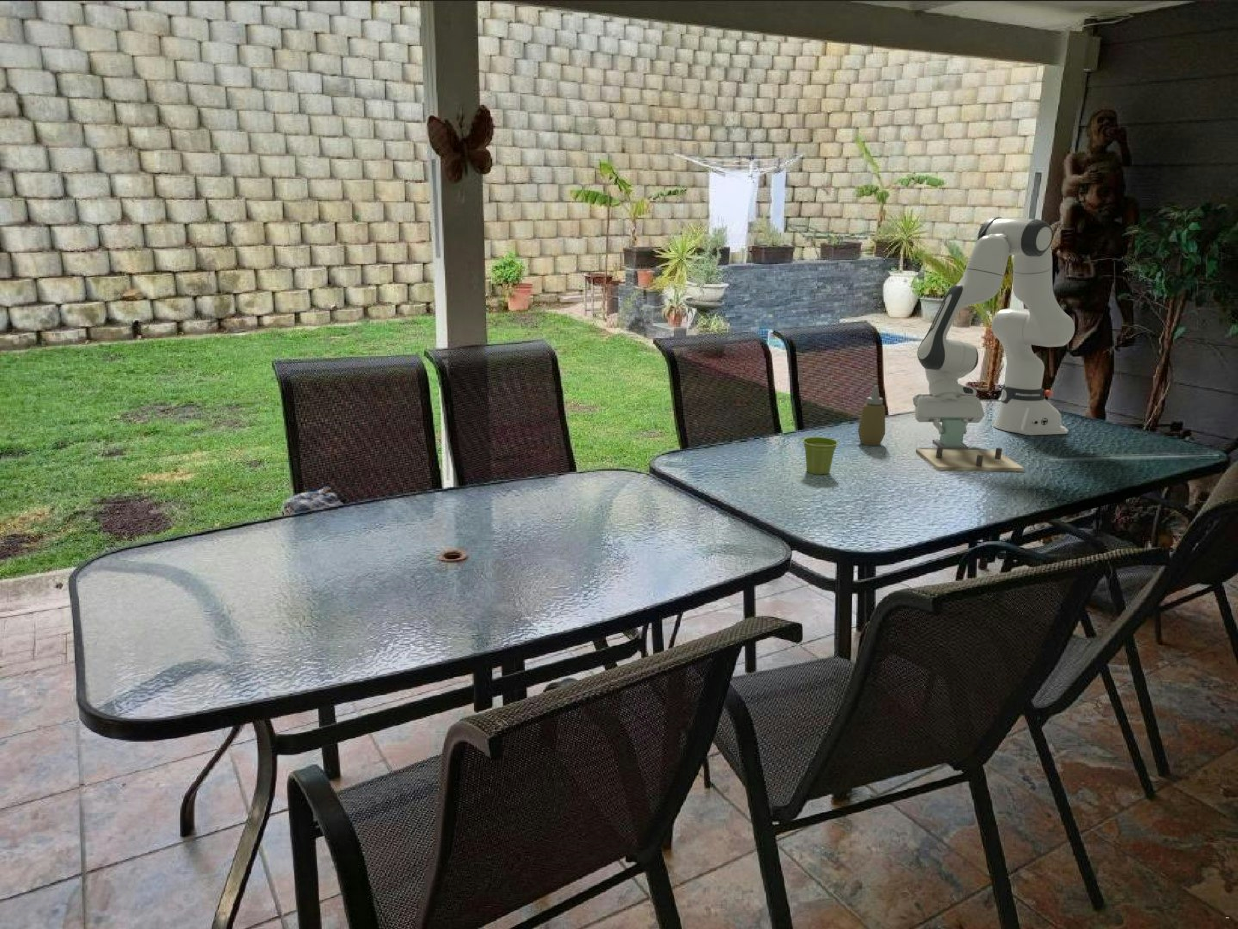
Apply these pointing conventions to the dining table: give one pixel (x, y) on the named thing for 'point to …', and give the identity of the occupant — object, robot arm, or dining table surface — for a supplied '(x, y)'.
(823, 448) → the plant pot
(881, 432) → the squeeze bottle
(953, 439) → the flange block
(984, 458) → the locating board
